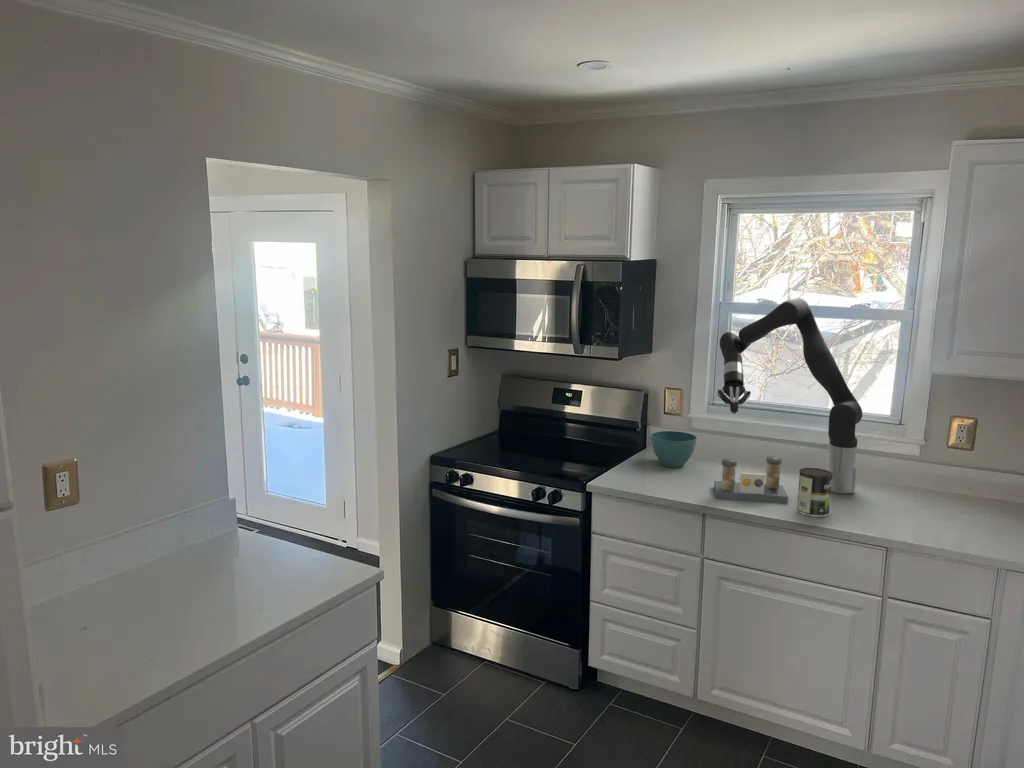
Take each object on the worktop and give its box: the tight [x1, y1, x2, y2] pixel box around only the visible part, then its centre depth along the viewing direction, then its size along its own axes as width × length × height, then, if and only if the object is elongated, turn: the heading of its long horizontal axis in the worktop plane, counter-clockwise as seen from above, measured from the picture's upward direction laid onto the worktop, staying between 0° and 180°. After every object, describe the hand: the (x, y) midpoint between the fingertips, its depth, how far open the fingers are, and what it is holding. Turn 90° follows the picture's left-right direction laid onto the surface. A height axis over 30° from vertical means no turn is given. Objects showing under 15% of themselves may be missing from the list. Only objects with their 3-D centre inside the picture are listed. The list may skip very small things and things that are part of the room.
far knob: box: [721, 457, 738, 491], centre depth 262 cm, size 5×5×11 cm
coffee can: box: [796, 467, 833, 518], centre depth 247 cm, size 10×10×14 cm
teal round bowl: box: [650, 430, 698, 468], centre depth 302 cm, size 18×18×12 cm
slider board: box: [713, 471, 789, 504], centre depth 264 cm, size 24×13×10 cm, turn 78°
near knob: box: [765, 455, 783, 489], centre depth 265 cm, size 5×5×11 cm
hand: (734, 412), depth 282 cm, fingers closed
